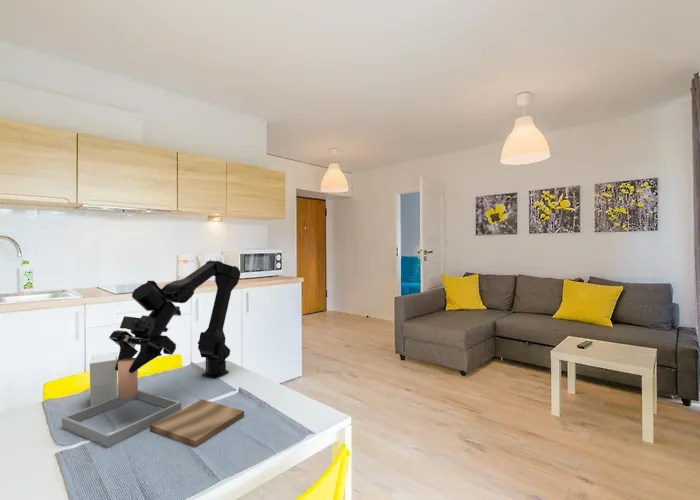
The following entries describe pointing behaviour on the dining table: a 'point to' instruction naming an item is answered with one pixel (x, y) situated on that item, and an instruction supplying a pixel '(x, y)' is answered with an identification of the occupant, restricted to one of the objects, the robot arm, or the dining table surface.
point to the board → (197, 422)
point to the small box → (103, 378)
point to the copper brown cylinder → (127, 379)
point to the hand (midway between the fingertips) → (123, 371)
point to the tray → (108, 440)
